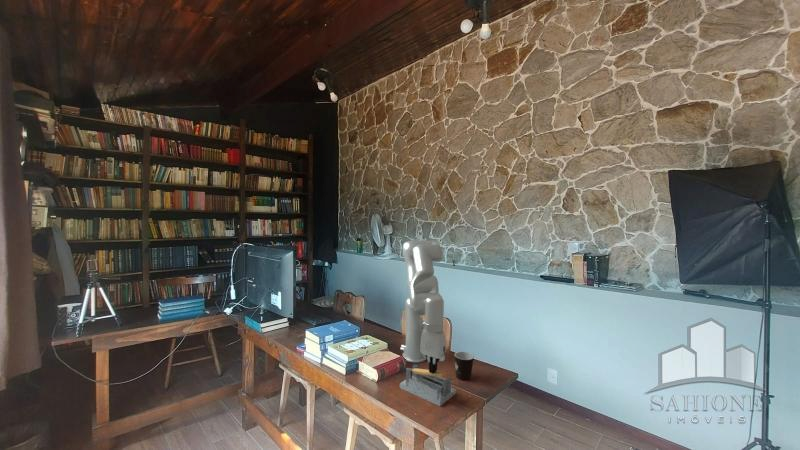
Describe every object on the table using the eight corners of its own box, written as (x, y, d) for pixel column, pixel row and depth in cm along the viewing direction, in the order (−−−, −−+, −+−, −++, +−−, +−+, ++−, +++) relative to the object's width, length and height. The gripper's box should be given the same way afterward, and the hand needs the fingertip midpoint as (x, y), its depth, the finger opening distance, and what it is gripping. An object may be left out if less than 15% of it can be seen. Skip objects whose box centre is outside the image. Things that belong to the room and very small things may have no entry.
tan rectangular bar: (408, 373, 142) (408, 369, 142) (413, 370, 145) (413, 367, 145) (441, 378, 132) (441, 373, 132) (446, 374, 134) (445, 370, 135)
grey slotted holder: (399, 387, 140) (400, 369, 140) (416, 377, 149) (417, 360, 149) (439, 406, 127) (440, 386, 127) (455, 393, 137) (456, 374, 136)
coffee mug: (473, 383, 146) (474, 360, 145) (453, 380, 147) (454, 358, 147) (472, 371, 157) (473, 350, 157) (454, 368, 159) (455, 348, 158)
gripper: (413, 325, 138) (412, 369, 138) (444, 333, 128) (443, 381, 128) (424, 321, 143) (423, 363, 144) (454, 329, 134) (453, 374, 134)
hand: (432, 371), depth 136 cm, fingers closed
